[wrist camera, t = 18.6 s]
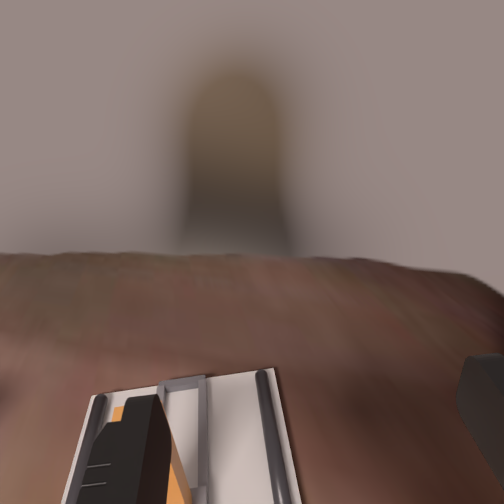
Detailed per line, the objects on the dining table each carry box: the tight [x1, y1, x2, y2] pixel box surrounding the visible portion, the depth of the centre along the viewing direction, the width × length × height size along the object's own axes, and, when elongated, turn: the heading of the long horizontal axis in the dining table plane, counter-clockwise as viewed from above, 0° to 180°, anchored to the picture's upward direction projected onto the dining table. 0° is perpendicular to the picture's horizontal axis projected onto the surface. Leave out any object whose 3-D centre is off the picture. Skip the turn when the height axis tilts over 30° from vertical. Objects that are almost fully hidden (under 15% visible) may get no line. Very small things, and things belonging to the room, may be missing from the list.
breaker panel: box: [61, 368, 302, 504], centre depth 36 cm, size 20×18×3 cm
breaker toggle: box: [111, 400, 207, 504], centre depth 28 cm, size 5×3×12 cm, turn 96°
